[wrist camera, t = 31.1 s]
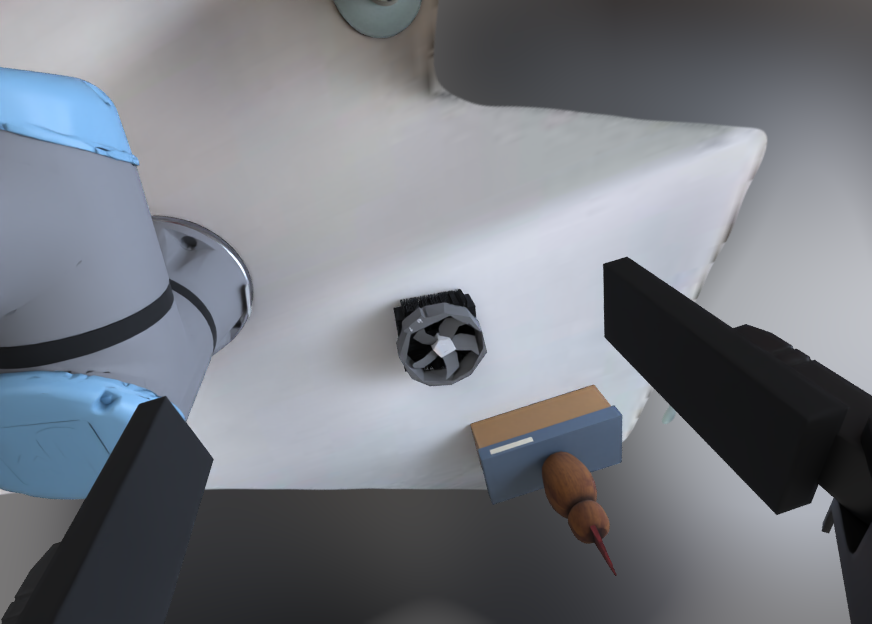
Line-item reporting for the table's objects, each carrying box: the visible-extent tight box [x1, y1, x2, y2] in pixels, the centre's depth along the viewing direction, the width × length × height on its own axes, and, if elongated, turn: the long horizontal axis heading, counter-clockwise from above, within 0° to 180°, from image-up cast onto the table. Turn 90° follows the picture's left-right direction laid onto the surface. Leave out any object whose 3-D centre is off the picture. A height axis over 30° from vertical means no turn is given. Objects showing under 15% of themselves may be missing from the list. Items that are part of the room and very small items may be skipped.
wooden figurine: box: [542, 451, 616, 576], centre depth 55 cm, size 7×6×15 cm
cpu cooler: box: [394, 289, 487, 386], centre depth 52 cm, size 10×6×10 cm
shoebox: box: [470, 385, 622, 505], centre depth 64 cm, size 20×10×7 cm, turn 103°
